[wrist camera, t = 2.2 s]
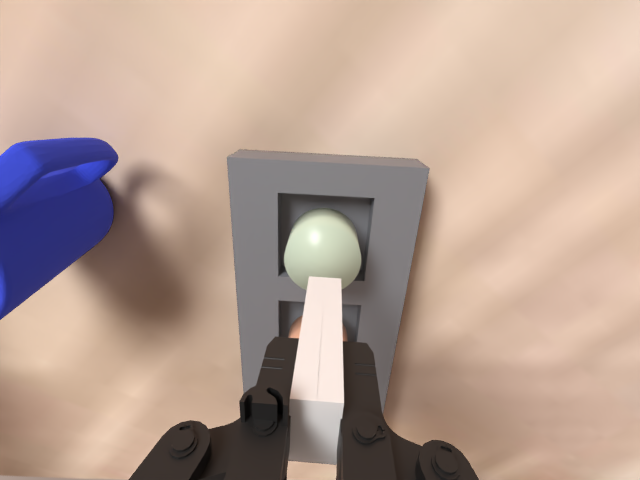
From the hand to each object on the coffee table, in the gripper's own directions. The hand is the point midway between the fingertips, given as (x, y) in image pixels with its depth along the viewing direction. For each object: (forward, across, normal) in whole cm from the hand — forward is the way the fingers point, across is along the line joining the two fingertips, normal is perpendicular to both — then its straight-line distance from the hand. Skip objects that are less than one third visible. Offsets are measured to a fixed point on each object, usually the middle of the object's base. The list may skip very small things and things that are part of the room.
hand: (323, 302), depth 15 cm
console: (+9, 0, -8) cm, 12 cm away
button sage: (+6, 0, 0) cm, 6 cm away
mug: (+9, -17, +2) cm, 20 cm away
